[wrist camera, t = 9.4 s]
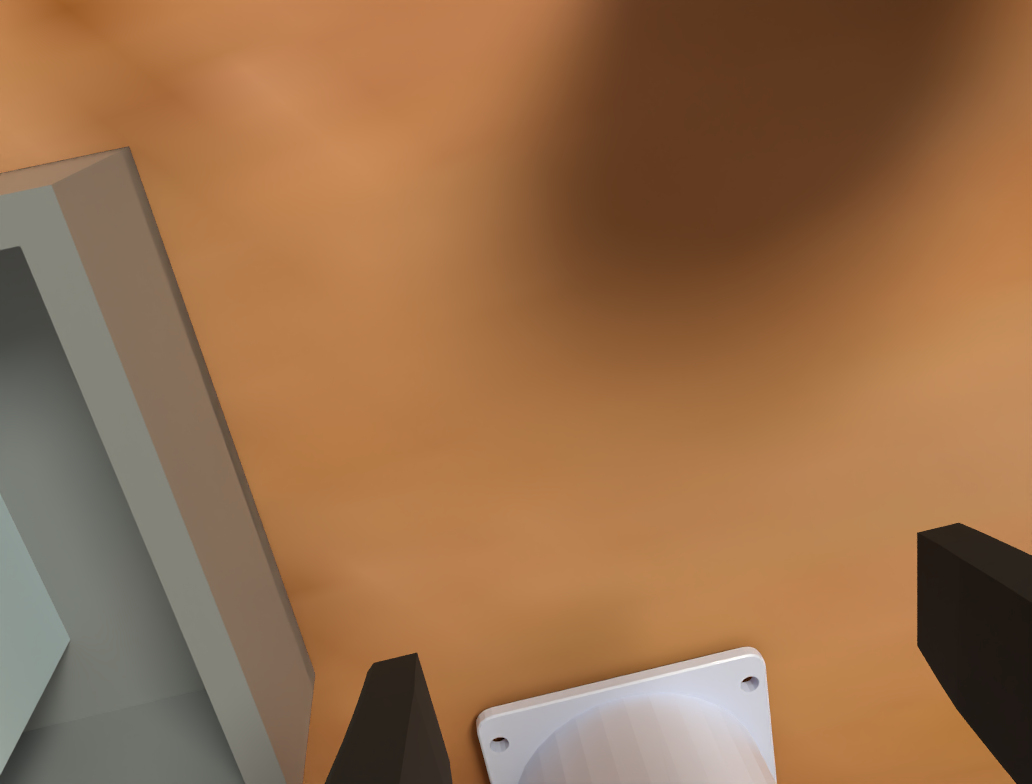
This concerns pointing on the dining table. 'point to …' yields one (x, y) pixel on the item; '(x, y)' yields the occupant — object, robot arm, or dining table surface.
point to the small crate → (23, 636)
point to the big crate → (134, 505)
